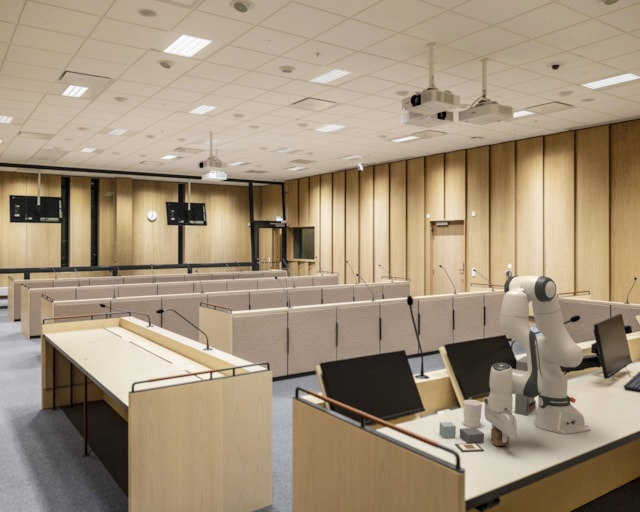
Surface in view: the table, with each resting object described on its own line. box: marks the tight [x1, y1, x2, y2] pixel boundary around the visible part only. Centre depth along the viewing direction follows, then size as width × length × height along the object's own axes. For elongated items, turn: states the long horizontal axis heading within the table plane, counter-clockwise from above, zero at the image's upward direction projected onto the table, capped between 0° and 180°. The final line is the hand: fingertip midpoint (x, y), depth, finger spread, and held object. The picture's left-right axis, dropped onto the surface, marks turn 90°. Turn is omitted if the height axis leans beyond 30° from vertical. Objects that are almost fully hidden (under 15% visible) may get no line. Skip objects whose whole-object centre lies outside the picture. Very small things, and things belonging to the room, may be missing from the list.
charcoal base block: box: [459, 427, 485, 444], centre depth 214 cm, size 7×7×4 cm
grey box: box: [514, 355, 537, 416], centre depth 252 cm, size 14×6×25 cm, turn 143°
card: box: [454, 443, 485, 453], centre depth 206 cm, size 9×7×1 cm
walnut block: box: [490, 428, 510, 447], centre depth 210 cm, size 5×5×5 cm
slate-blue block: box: [439, 421, 457, 439], centre depth 218 cm, size 5×5×5 cm
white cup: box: [462, 399, 483, 428], centre depth 232 cm, size 8×8×10 cm
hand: (499, 438), depth 210 cm, fingers closed on walnut block, 5 cm apart
